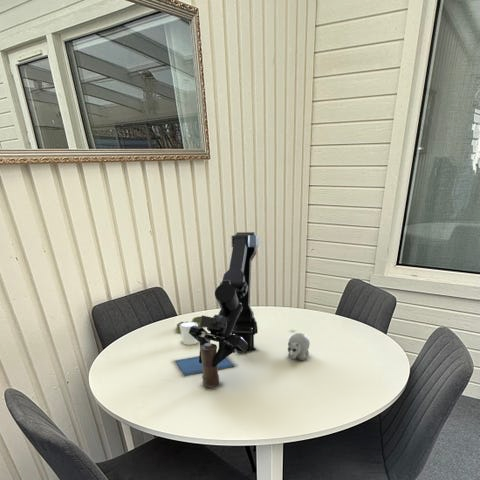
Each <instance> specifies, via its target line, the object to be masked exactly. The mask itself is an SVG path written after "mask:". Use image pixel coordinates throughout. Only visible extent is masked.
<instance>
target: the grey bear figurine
mask: <svg viewBox="0 0 480 480" xmlns="http://www.w3.org/2000/svg"><path fill="white" fill-rule="evenodd" d="M310 345H311V343H310V339H309V337H308V336H307V335H306V334H305V333H302V332H296V333H294V334H292V335H291V336H290V338H289V339H288V343H287V352H288V354H287V356H288V359H291V360H295V359H298V360H300V361H304V360H307V359H306V358H307V357H309V354H310V352H309V349H310Z"/></svg>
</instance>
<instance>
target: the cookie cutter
mask: <svg viewBox="0 0 480 480" xmlns="http://www.w3.org/2000/svg"><path fill="white" fill-rule="evenodd" d="M201 317H202V315H201V316H196V317H193V318H191V319H192V320H191V322H196V323H197V324H198V327H200V322H201ZM184 322H185V321H180V322H178V323H176V333H181V331H180V326H179V325H180V324H181V323H184ZM186 322H189V321H188V320H187V321H186Z"/></svg>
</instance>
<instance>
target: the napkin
mask: <svg viewBox="0 0 480 480" xmlns="http://www.w3.org/2000/svg"><path fill="white" fill-rule="evenodd" d="M174 363H176V365H177V366H178V368H179V370H180V371H181V373H182V374H183V375H184V377H187V376H191V375H196V374H203V371H202V364H201V363H199V355H198V356H194V357H193V356H192V357H187V358H181V359H177V360H175V361H174ZM234 367H235V365H234V364H233V363H232V362H231V361H230V359H229V358H228V357H226V358H225V359H224V360H222V361H221V362H220V363H219V364H218V370H224V369H228V368H234Z"/></svg>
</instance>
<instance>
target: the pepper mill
mask: <svg viewBox="0 0 480 480" xmlns="http://www.w3.org/2000/svg"><path fill="white" fill-rule="evenodd" d="M200 351H201V360H202V371H203V372H202V377H201V379H202V384H203V386H204V387H206V388H207V387H208V388H212V387H213V388H214V387H216V386H218V385H220V375H219V369H218V365H217V366H215V367H212V363H213V360H214V358H215V356H216V353H217V351H218V345H217V344H215V343H211V342H210V343H206V344H203V345H201V346H200V345H199V352H200Z"/></svg>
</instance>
